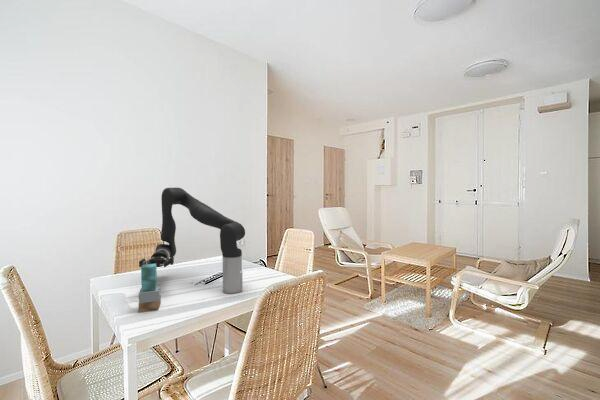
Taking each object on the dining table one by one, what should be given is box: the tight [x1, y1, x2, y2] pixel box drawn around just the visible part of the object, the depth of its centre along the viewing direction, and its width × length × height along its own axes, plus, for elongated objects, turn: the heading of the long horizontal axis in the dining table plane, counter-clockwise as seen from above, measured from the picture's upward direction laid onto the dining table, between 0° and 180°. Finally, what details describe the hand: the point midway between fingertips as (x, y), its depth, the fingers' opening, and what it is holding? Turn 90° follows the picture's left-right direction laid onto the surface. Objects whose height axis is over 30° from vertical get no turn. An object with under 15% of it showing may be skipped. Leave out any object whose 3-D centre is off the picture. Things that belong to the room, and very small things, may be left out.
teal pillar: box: [140, 263, 158, 292], centre depth 115 cm, size 5×5×10 cm
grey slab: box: [138, 285, 161, 304], centre depth 115 cm, size 7×7×4 cm
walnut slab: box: [138, 294, 162, 314], centre depth 115 cm, size 7×7×4 cm
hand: (154, 265), depth 123 cm, fingers open, 8 cm apart
